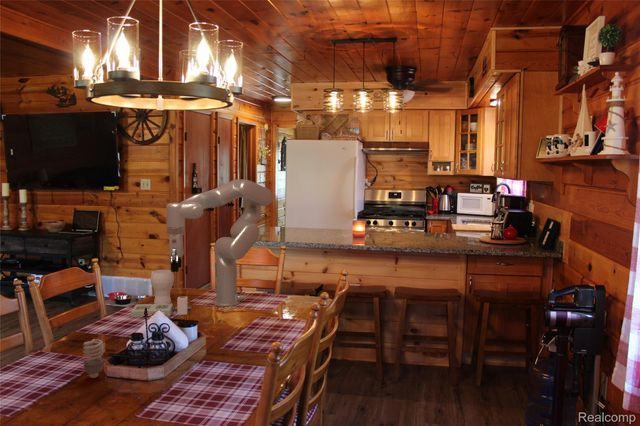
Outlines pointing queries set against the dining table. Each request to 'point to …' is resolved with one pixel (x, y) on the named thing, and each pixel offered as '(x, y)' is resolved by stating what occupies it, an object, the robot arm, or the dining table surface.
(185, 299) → the block
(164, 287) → the cup
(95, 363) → the light bulb
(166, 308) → the outlet board
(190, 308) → the phone
